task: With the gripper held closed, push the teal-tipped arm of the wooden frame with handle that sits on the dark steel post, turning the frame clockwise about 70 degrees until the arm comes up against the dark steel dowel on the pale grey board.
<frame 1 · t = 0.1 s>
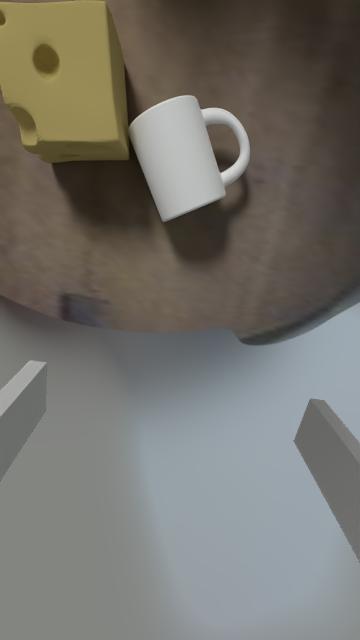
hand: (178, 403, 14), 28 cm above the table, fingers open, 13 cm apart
mug: (192, 164, 36), on the table
cheese: (87, 113, 34), on the table
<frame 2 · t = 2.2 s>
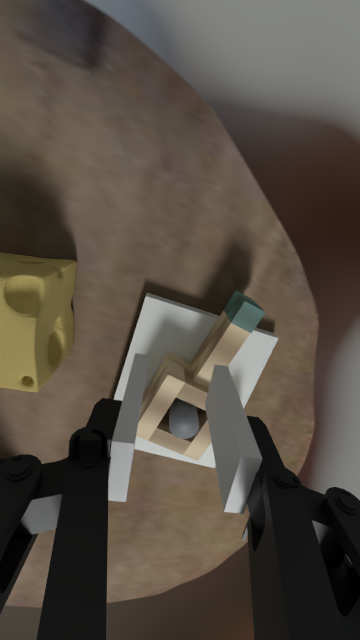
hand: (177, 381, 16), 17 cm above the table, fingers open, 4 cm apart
cheese: (31, 300, 32), on the table
base: (183, 385, 36), on the table
wooden frame with handle: (204, 372, 30), point 4 cm above the table, hinge at 0.0°
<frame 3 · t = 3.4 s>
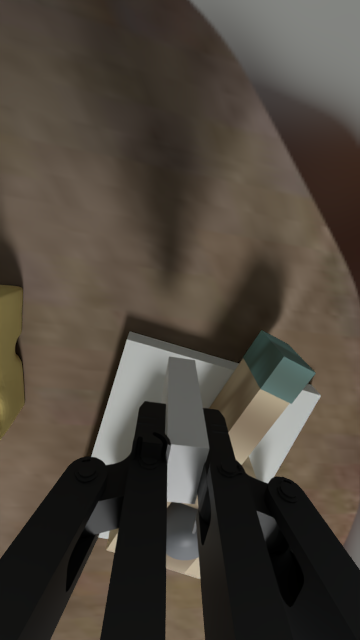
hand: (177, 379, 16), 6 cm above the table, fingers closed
base: (183, 455, 25), on the table
wooden frame with handle: (216, 451, 20), point 4 cm above the table, hinge at 0.0°
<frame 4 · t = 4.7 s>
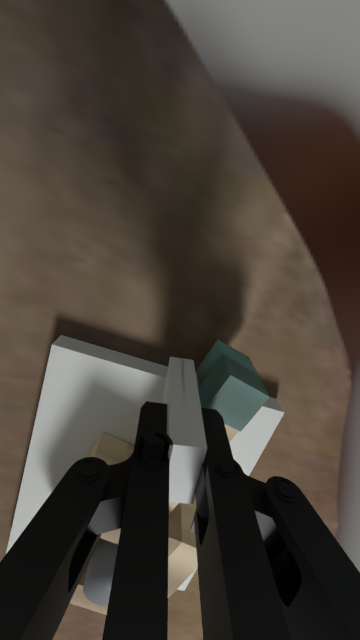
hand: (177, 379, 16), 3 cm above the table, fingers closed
base: (133, 474, 23), on the table
wooden frame with handle: (158, 478, 17), point 4 cm above the table, hinge at -2.3°, touching gripper
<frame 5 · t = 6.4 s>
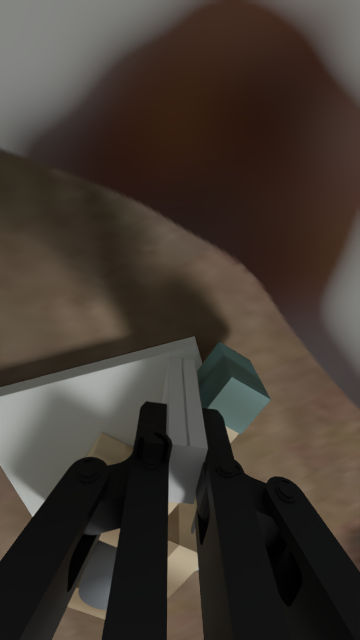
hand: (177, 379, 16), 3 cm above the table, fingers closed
base: (131, 474, 22), on the table
wooden frame with handle: (156, 480, 17), point 4 cm above the table, hinge at -38.3°, touching gripper
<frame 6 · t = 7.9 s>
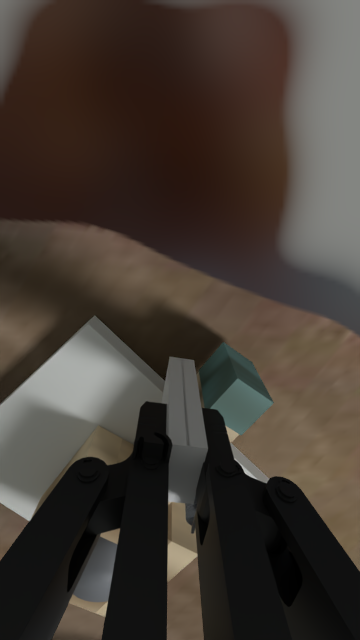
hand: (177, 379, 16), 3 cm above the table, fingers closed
base: (122, 467, 22), on the table
dowel: (191, 423, 21), resting on base
wooden frame with handle: (151, 476, 17), point 4 cm above the table, hinge at -68.8°, touching gripper
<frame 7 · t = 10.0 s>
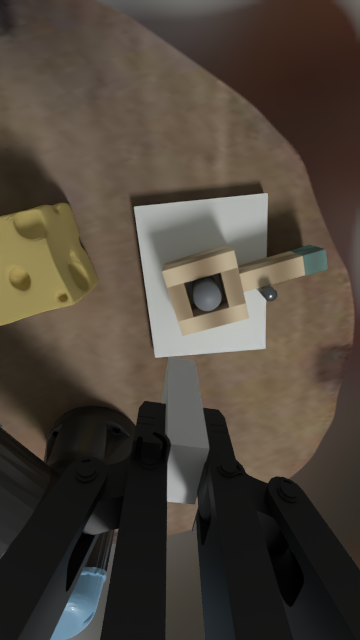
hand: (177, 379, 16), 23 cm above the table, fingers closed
cheese: (51, 257, 37), on the table
base: (204, 281, 38), on the table
dowel: (255, 280, 38), resting on base
wooden frame with handle: (244, 278, 34), point 4 cm above the table, hinge at -68.9°
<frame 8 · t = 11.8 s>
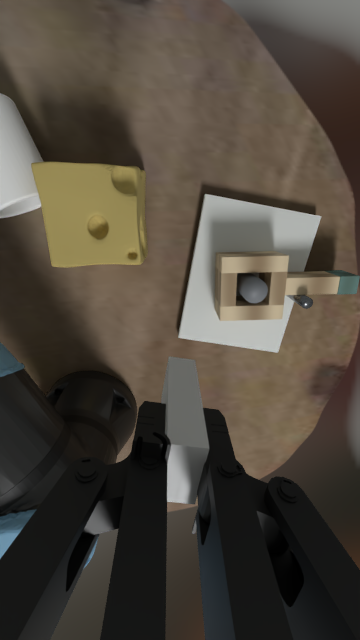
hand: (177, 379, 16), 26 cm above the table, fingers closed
mug: (7, 173, 36), on the table
cheese: (109, 218, 38), on the table
base: (242, 278, 41), on the table
dowel: (285, 289, 42), resting on base
wooden frame with handle: (284, 284, 38), point 4 cm above the table, hinge at -68.9°
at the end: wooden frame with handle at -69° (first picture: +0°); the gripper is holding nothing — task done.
